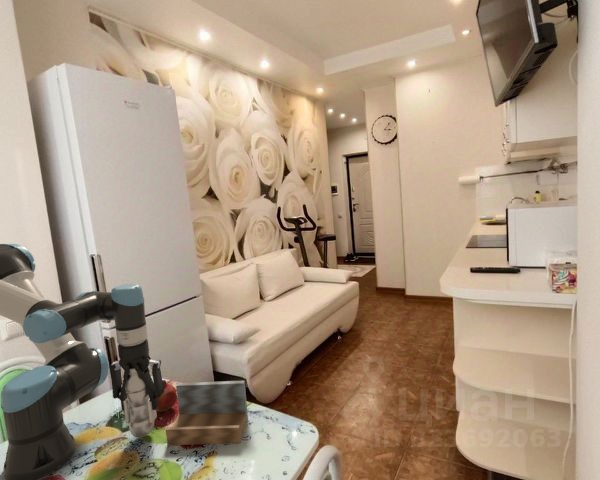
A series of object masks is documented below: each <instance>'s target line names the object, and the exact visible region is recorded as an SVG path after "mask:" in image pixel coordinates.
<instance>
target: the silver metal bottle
mask: <svg viewBox="0 0 600 480" xmlns="http://www.w3.org/2000/svg"><path fill="white" fill-rule="evenodd" d="M129 375H130V376H129V378H128V379H127V381H126V383H125V391H126V395H127V398H128V403H129V408H130V422H129V423H128V425H129V427H128V429H129V433H130V435H131V436H133V437H134V438H143V437H145V436H147V435H148V434H150V433H151V432H152V431H153V429H154V428H155V423H156V422H155V421H156V419H155V420H154V421H153V423H150V420H149V411H148V400H149V398H150V397H149V395H148V393H147V391H146V385H145V383H144V381H143V380H142V379H140V378H139V376H138V373H137V371H136V370H135V368H134V369H129Z"/></svg>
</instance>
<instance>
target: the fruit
mask: <svg viewBox="0 0 600 480" xmlns="http://www.w3.org/2000/svg"><path fill="white" fill-rule="evenodd" d="M162 381H163V387H164V393H163V394H162V395H161V396H160V397H159V398H158V408H157V409H156V411H158V412H164V411H168V410H169V409H171V408H172V407H174V405H176V403H177V401H178V398H177V389H176V388H175V387H176V386H173V385H172V384H170V383H167V381H166V380H165V379H162Z"/></svg>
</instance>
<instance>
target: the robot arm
mask: <svg viewBox="0 0 600 480" xmlns="http://www.w3.org/2000/svg"><path fill="white" fill-rule="evenodd" d="M35 270H36V263H35V258H34V255H33V254H32V253H31V252H30V250H29V249H27V248H26V247H25V246H24V245H21V244H18V243H0V316H2V317H4V318H6V319H8V320H11V321H12V322H15V323H17V324H20V326H21V328H22V329H23V333H24V335H25V336H26V337H27V338H28V339H29V341H30V342H32V344H34V346H35V347H36V348H37V350H38V351H39V352H40V354H41V355H42V357H43V358H44V359H45V360H44V361H45V362H44V364H43V365H41V366H40V365H39V366H37V367H34V368H32V369H27V370H25V371H23V372H21V373H18V374H17V375H15V376H14V377H12V378H10V380H8V381H7V382H6V383H5V384H4V386H3V387H2V390H1V392H0V401H1V402H0V403H1V404H0V408H1V410H2V414H3V419H4V420H3V421H4V424H5V425H4V426H5V430H6V435H7V442H8V446H7V449H6V453H5V461H4V463H3V469H2V470H3V474H4V478H5V480H38V479H40V478H43V477H44V476H47V475H48V474H51V473H53V472H55V471H56V470H58V469H59V468H60V467H63V465H65V463H67V462H68V461H69V460H70V459H71V458H72V457H73V455H74V453H76V449H77V448H76V439H75V437H74V436H73V434H71V432H70V431H69V428H68V426H67V425H66V424H65V421H64V415H63V414H64V413H63V410H64V409H66V408H67V407H68V406H71V405H72V404H74V403H75V402H76V401H78V400H79V399H82V398H83V397H84V396H87V394H89V393H92V392H95V390H96V389H97V388H99V386H101V385H103V384H104V382H105V381H106V380H107V379H108V376H109V373H111V386H112V390H111V391H112V398H113V399H116V400H117V399H118V400H119V401H120V407H121V411H124V418H125V423H126V424H129V423H130V408H129V403H128V398H127V395H126V391H125V383H126V381H127V379H128V378H129V376H130V375H129V369H134V368H135V370H136V371H137V373H138V376H139V378H140V379H142V380H143V381H144V383H145V385H146V391H147V393H148V395H149V397H150V398H149V400H148V411H149V420H150V423H153V421H154V420H155V421H156V419H157V417H158V415H157V414H158V413H157V410H156V409H157V408H158V398H159V397H160V396H161V395H162V394H163V393H164V387H163V381H162V380H163V377H162V371H161V364H162V360H161V359H157V360H155V359H154V360H153V359H152V358H151V357H150V353H149V352H150V347H149V345H150V344H149V339H148V337H149V336H148V329H147V321H146V310H145V298H144V293H143V288H142V286H141V285H140V284H137V283H130V284H127V283H126V284H121V285H117V286H114V287H113V288H112V289H111V292H110V291H96V290H93V291H85V292H82V293H80V294H79V295H78V296H77V297H75V299H72V300H68V301H65V302H63V303H58V302H54V301H53V300H49V299H48V298H46V297H45V296H44V295H43V294H42V292H41V290H39V288H38V286H37V285H36V284H35V282H34V281H33V280H34V278H35V273H34V272H35ZM98 321H114V328H115V335H116V343H117V344H118V345H117V350H118V352H117V353H118V358H119V360H114V361H113V362H112V363H111V364H109V363H110V362H109V360H108V358H107V355H106V353H105V352H104V351H103V350H102V349H100V348H98V347H89V346H88V345H87V344H86V343H85V341H81V340H80V341H78V340H76V339H75V337H74V336H73V334H72V332H74V331H76V330H77V331H78V330H79V329H81V328H85V327H87V326H88V325H91V324H94V323H97V322H98ZM149 367H150V369H149ZM122 369H123V375H122ZM109 370H110V372H109ZM150 370H151V371H150ZM150 372H151V373H150ZM151 374H152V375H151ZM122 378H123V380H122Z"/></svg>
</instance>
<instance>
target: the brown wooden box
mask: <svg viewBox="0 0 600 480" xmlns="http://www.w3.org/2000/svg"><path fill="white" fill-rule="evenodd" d="M245 382H246V381H245V380H226V381H225V380H223V381H198V382H197V381H195V382H178V383H177V384H176V385H175V387H176V388H175V389H176V393H177V405H178V416H177V418H176V419H175V421H174V422H173V424H172V425H171V427H170V426H167V427H166V428H165V435H166V444H167V446H181V445H182V446H183V445H184V446H185V445H188V446H189V445H190V446H191V445H216V444H217V445H222V444H224V445H226V444H241V442H242V439H243V436H244V432H245V429H246V426H247V423H248V420H249V417H248V416H249V415H248V414H249V413H248V405H247V394H246V383H245Z"/></svg>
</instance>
